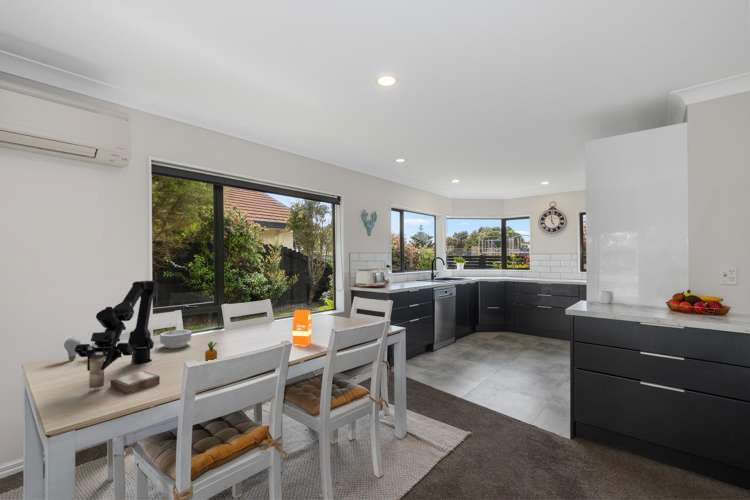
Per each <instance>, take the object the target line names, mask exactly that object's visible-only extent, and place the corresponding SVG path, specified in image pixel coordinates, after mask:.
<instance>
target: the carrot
mask: <svg viewBox="0 0 750 500" xmlns="http://www.w3.org/2000/svg"><path fill="white" fill-rule="evenodd" d="M217 344H218V342H213V341H209V342H208V343H207V346H208V349H207V350H205V352H204V361H208V360H214V359H217V360H218V350H217V349H214V347H215V346H216V345H217Z"/></svg>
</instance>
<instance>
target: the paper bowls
mask: <svg viewBox="0 0 750 500" xmlns="http://www.w3.org/2000/svg"><path fill="white" fill-rule="evenodd" d="M191 340H192V330H190V329H175V330H169V331H165V332H161V333H160V334H159V343H160V344H161V345H163V346H164V347H165V348H166V349H179V348H183V347H185V346H187V344H188V342H191Z"/></svg>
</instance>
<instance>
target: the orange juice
mask: <svg viewBox="0 0 750 500" xmlns="http://www.w3.org/2000/svg"><path fill="white" fill-rule="evenodd" d="M310 342H311V343H312V316H311V311H310V310H309V309H308V310H307V309H294V315H293V319H292V346H293V345H294V344H300V345H308V344H309V343H310Z"/></svg>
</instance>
